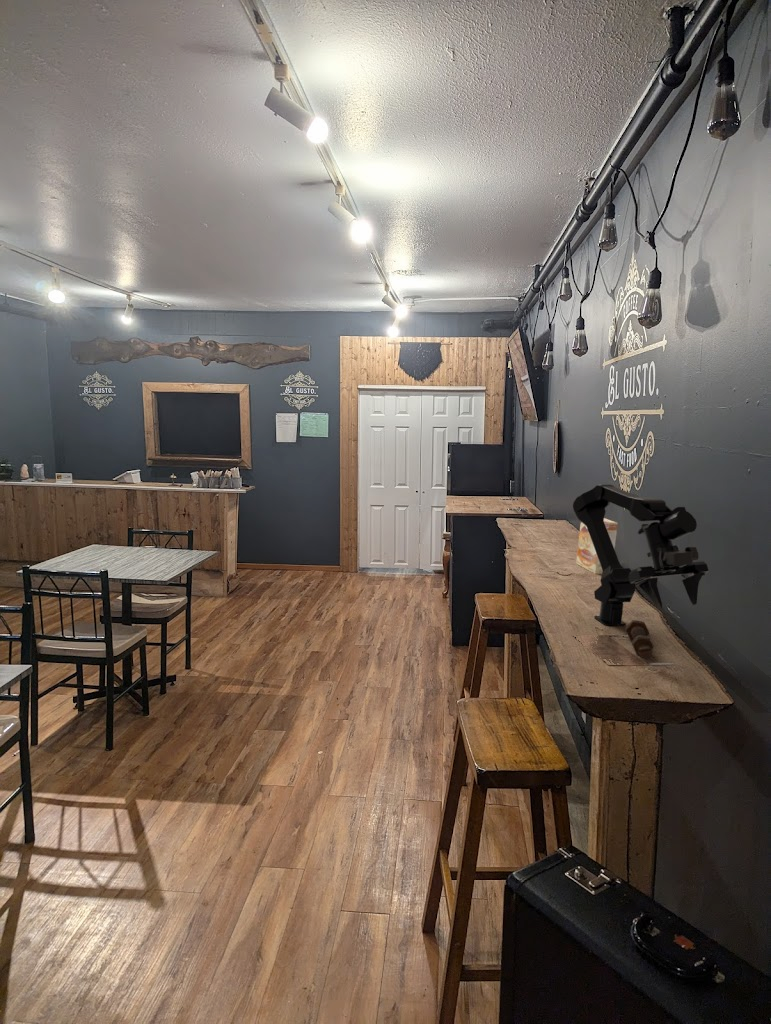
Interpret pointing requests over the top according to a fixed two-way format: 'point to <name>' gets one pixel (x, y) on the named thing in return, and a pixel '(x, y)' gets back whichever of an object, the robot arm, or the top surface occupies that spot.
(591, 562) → the coffeecake box
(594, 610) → the top surface
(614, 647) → the seat and pad
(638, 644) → the bolt
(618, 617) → the robot arm
